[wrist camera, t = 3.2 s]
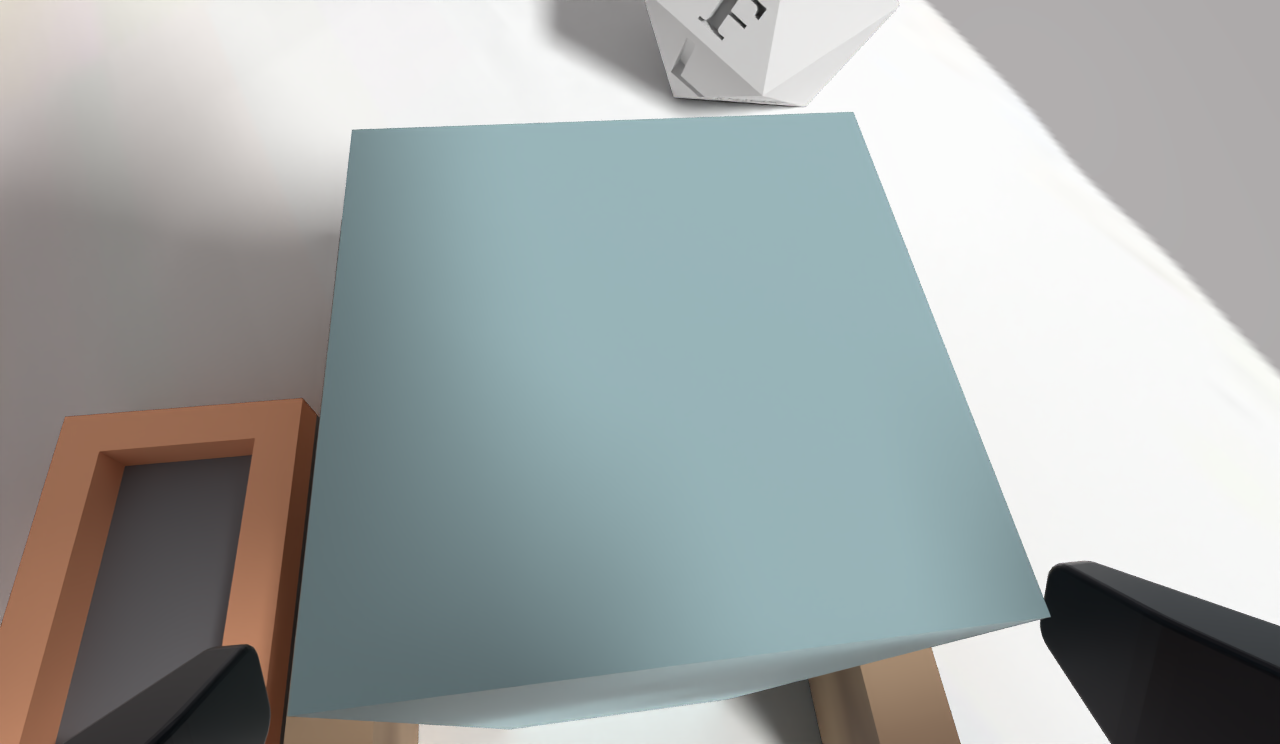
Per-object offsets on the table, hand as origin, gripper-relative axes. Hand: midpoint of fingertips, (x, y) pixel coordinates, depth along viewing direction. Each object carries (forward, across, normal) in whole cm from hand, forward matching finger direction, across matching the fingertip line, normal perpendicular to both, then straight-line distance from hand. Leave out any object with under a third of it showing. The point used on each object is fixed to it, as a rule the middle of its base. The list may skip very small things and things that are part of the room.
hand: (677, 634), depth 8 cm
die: (+22, -6, -8) cm, 24 cm away
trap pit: (+8, +10, +4) cm, 14 cm away
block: (+8, 0, +5) cm, 9 cm away
